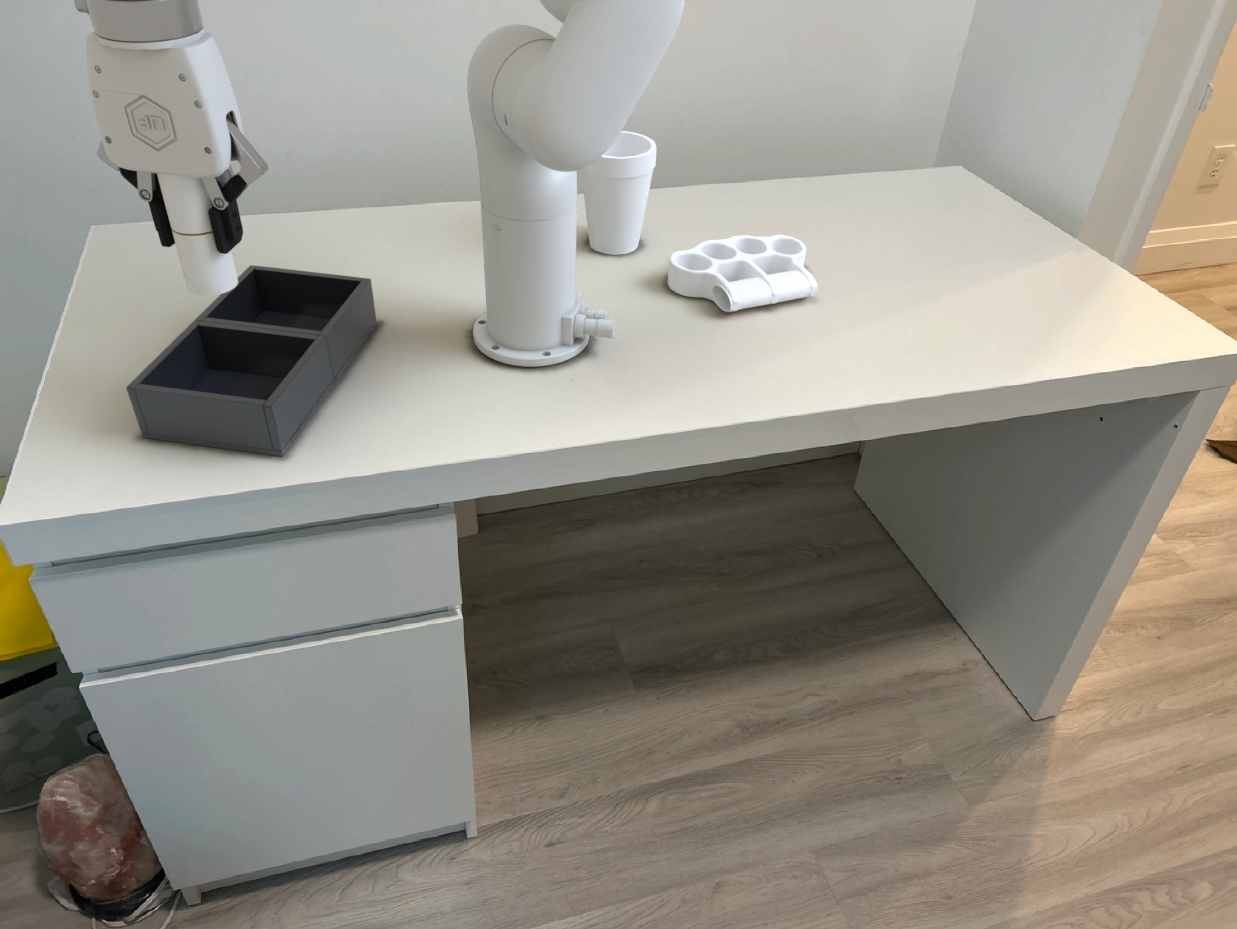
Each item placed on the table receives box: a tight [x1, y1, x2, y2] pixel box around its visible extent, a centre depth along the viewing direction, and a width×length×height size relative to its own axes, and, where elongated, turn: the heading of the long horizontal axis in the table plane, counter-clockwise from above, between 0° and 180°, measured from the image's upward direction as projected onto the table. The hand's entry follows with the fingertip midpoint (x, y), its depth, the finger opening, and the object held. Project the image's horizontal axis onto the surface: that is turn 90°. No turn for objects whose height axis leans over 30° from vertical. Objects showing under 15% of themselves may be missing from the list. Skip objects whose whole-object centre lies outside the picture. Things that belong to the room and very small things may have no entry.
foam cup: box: [580, 130, 658, 256], centre depth 120 cm, size 10×9×13 cm
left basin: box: [125, 320, 335, 457], centre depth 91 cm, size 14×12×6 cm
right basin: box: [194, 265, 378, 385], centre depth 100 cm, size 14×12×6 cm
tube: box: [157, 174, 238, 297], centre depth 80 cm, size 4×4×15 cm
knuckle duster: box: [667, 234, 819, 313], centre depth 116 cm, size 3×18×15 cm
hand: (202, 241), depth 82 cm, fingers closed on tube, 4 cm apart
